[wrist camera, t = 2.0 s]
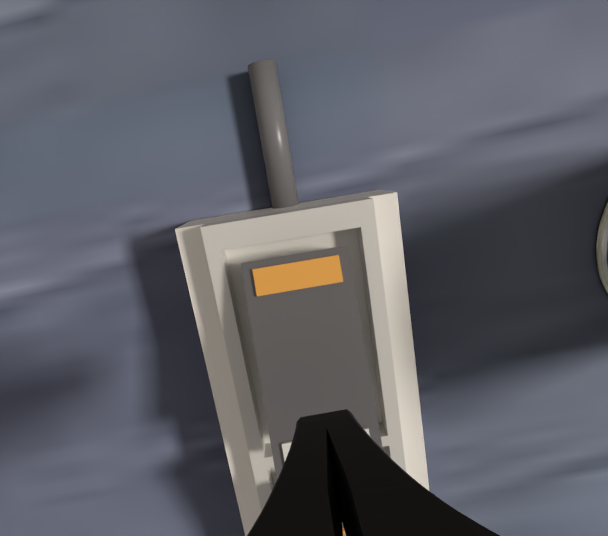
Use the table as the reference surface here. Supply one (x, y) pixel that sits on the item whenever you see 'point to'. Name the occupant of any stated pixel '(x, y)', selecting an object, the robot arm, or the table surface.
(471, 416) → the table surface
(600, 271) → the coffee can
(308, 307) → the rocker
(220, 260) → the rocker switch box
